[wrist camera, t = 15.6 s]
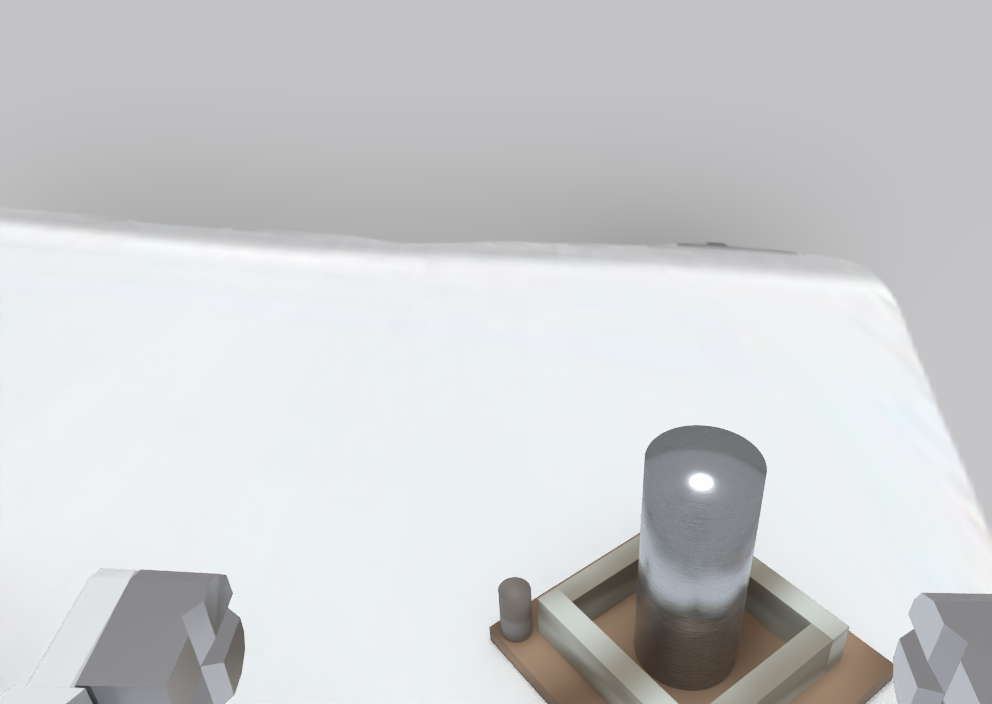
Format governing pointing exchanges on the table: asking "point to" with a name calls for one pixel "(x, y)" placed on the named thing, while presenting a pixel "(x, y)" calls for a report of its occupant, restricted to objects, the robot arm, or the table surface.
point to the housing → (641, 698)
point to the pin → (696, 553)
